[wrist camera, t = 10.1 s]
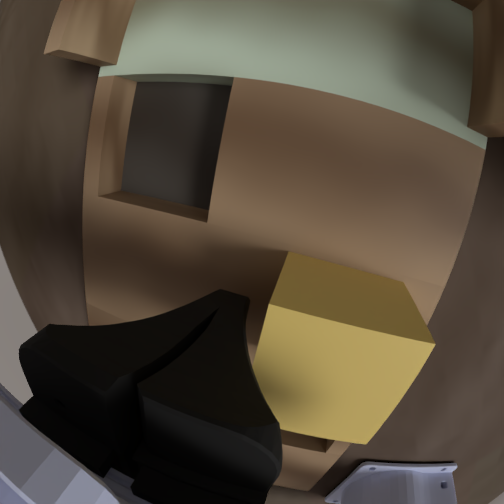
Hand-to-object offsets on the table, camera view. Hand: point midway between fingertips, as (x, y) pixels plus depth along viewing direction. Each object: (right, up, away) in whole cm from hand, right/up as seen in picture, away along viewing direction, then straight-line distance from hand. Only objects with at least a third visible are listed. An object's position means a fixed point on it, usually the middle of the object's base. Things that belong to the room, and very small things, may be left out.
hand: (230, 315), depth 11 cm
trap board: (+1, +1, +3) cm, 3 cm away
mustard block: (+4, 0, 0) cm, 4 cm away
